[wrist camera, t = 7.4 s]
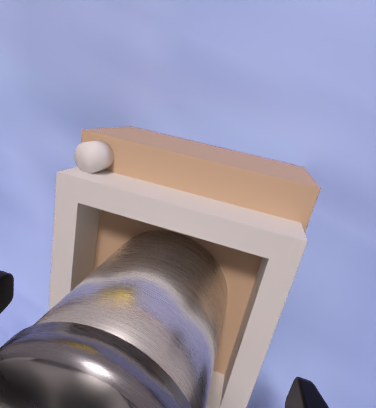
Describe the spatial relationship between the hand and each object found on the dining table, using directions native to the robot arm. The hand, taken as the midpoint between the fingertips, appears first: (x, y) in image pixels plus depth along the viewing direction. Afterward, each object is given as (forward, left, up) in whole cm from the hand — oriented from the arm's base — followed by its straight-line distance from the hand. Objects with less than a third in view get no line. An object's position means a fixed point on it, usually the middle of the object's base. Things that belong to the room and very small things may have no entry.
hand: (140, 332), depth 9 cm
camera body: (0, 0, -6) cm, 6 cm away
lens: (0, 0, -2) cm, 2 cm away
